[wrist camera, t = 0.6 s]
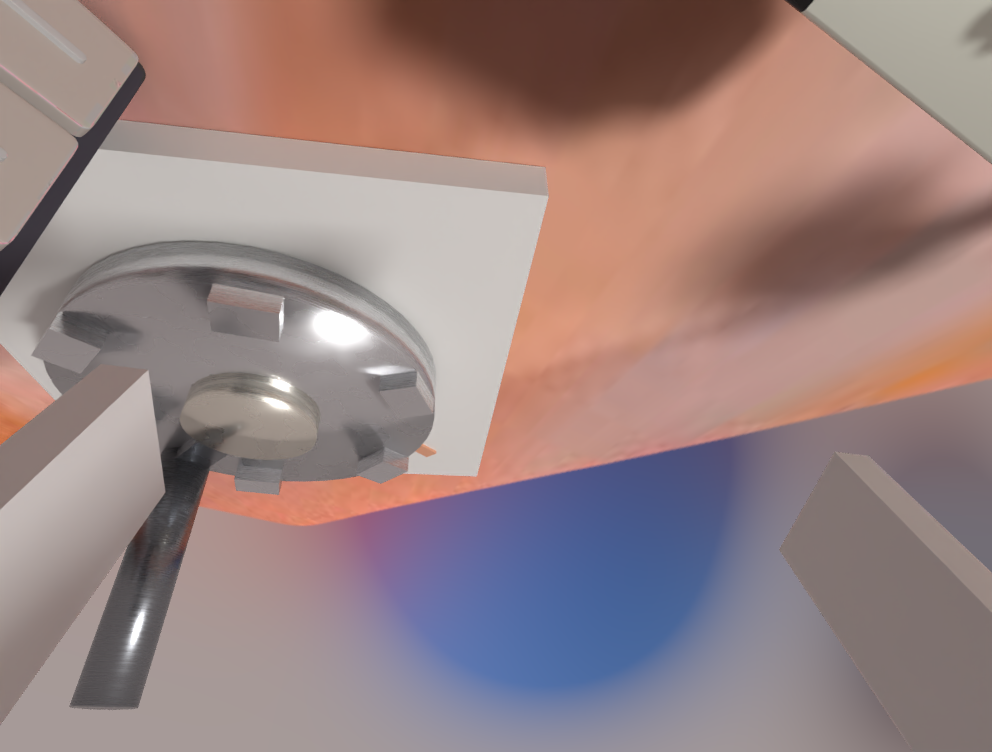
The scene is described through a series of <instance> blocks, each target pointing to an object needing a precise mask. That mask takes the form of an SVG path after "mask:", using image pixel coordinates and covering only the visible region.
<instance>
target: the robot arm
mask: <svg viewBox="0 0 992 752" xmlns="http://www.w3.org/2000/svg"><path fill="white" fill-rule="evenodd" d="M164 494H165V485H164V478H163V471H162V464H161V457H160V449H159V442H158V435H157V428H156V421H155V414H154V406H153V399H152V392H151V385H150V378H149V370H146V369H138V368H130V367H121V366H113V365H105V364H100V365H99V366H98V367H97V368H95V369H94V370H93V371H92V372H90V373H89V374H88V375H87V376H85V377H84V378H83V379H82V380H81V381H79V382H78V383H77V384H76V385H74V386H73V387H72V388H71V389H69V390H68V391H67V392H66V393H64V394H63V395H62V396H61V397H59V398H58V399H57V400H56V401H54V402H53V403H52V404H51V405H49V406H48V407H47V408H46V409H45V410H43V411H42V412H41V413H40V414H38V415H37V416H36V417H35V418H33V419H32V420H31V421H30V422H28V423H27V424H26V425H25V426H23V427H22V428H21V429H20V430H18V431H17V432H16V433H15V434H13V435H12V436H11V437H10V438H9V439H7V440H6V441H5V442H4V443H2V444H1V445H0V725H1V723H2V722H3V721H4V719H5V718H6V716H7V715H8V713H9V712H10V711H11V709H12V707H13V706H14V705H15V704H16V702H17V701H18V699H19V698H20V697H21V695H22V694H23V692H24V691H25V690H26V688H27V687H28V685H29V684H30V682H31V681H32V680H33V678H34V677H35V675H36V674H37V673H38V671H39V670H40V668H41V667H42V666H43V664H44V663H45V661H46V660H47V658H48V657H49V656H50V654H51V653H52V651H53V650H54V649H55V647H56V645H57V644H58V643H59V642H60V640H61V639H62V637H63V636H64V634H65V633H66V632H67V630H68V629H69V627H70V626H71V625H72V623H73V622H74V620H75V619H76V618H77V616H78V615H79V613H80V612H81V611H82V609H83V608H84V606H85V605H86V604H87V602H88V601H89V599H90V598H91V596H92V595H93V594H94V592H95V591H96V589H97V588H98V587H99V585H100V584H101V582H102V581H103V579H104V578H105V577H106V575H107V574H108V573H109V571H110V570H111V568H112V567H113V565H114V564H115V563H116V561H117V560H118V558H119V557H120V556H121V554H122V553H123V551H124V550H125V548H126V547H127V546H128V544H129V543H130V541H131V540H132V539H133V537H134V536H135V534H136V533H137V532H138V530H139V529H140V527H141V526H142V525H143V523H144V522H145V520H146V519H147V518H148V516H149V515H150V513H151V512H152V510H153V509H154V508H155V506H156V505H157V503H158V502H159V501H160V499H161V498H162V496H163V495H164ZM780 552H781V553H782V555H783V556H784V558H785V559H786V561H787V562H788V564H789V565H790V567H791V568H792V570H793V571H794V573H795V574H796V576H797V577H798V579H799V580H800V582H801V584H802V585H803V587H804V588H805V590H806V591H807V593H808V594H809V596H810V597H811V599H812V600H813V602H814V603H815V605H816V606H817V608H818V609H819V610H820V612H821V614H822V615H823V617H824V618H825V620H826V621H827V623H828V624H829V626H830V627H831V629H832V630H833V632H834V633H835V635H836V636H837V638H838V639H839V641H840V642H841V644H842V646H843V647H844V649H845V650H846V652H847V653H848V655H849V656H850V658H851V659H852V661H853V662H854V664H855V665H856V667H857V668H858V670H859V671H860V673H861V674H862V676H863V677H864V679H865V680H866V682H867V683H868V685H869V686H870V688H871V689H872V691H873V692H874V694H875V695H876V697H877V698H878V700H879V701H880V703H881V705H882V706H883V708H884V709H885V710H886V712H887V714H888V715H889V717H890V718H891V720H892V721H893V723H894V724H895V726H896V727H897V729H898V730H899V732H900V733H901V735H902V736H903V738H904V739H905V741H906V742H907V744H908V745H909V747H910V748H911V750H912V751H913V752H992V572H990V571H989V570H988V569H987V568H986V567H985V566H984V565H983V564H982V563H981V562H980V561H979V560H978V559H977V558H976V557H975V556H974V555H972V554H971V553H970V552H969V551H968V550H967V549H966V548H965V547H964V546H963V545H962V544H961V543H960V542H959V541H958V540H957V539H956V538H955V537H954V536H952V535H951V534H950V533H949V532H948V531H947V530H946V529H945V528H944V527H943V526H942V525H941V524H940V523H939V522H938V521H937V520H936V519H935V518H933V517H932V516H931V515H930V514H929V513H928V512H927V511H926V510H925V509H924V508H923V507H922V506H921V505H920V504H919V503H918V502H917V501H916V500H914V499H913V498H912V497H911V496H910V495H909V494H908V493H907V492H906V491H905V490H904V489H903V488H902V487H901V486H900V485H899V484H897V482H895V481H894V480H893V479H892V478H891V477H890V476H889V475H888V474H887V473H886V472H885V471H884V470H883V469H882V468H880V466H879V465H878V464H876V463H875V462H874V461H873V460H872V459H871V458H870V457H869V456H865V455H856V454H849V453H840V452H834V454H833V456H832V457H831V459H830V461H829V463H828V464H827V466H826V468H825V470H824V472H823V473H822V475H821V477H820V479H819V480H818V482H817V484H816V485H815V487H814V489H813V491H812V493H811V494H810V496H809V498H808V500H807V501H806V503H805V505H804V507H803V508H802V510H801V512H800V514H799V516H798V517H797V519H796V521H795V523H794V525H793V526H792V528H791V530H790V531H789V533H788V535H787V537H786V538H785V540H784V542H783V544H782V545H781V547H780Z"/></svg>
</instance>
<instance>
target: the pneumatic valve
mask: <svg viewBox="0 0 992 752" xmlns="http://www.w3.org/2000/svg"><path fill="white" fill-rule="evenodd" d="M785 1H786V2H787V3H789V4H790V5H791V6H792V7H794V8H795V9H796V10H797V11H799V12H800V13H801V14H802V15H804V16H805V17H806V18H807V19H809V20H810V21H811V22H813V23H814V24H815V25H816V26H818V27H819V28H820V29H821V30H823V31H824V32H825V33H826V34H828V35H829V36H830V37H831V38H833V39H834V40H835V41H837V42H838V43H839V44H840V45H842V46H843V47H844V48H845V49H847V50H848V51H849V52H850V53H852V54H853V55H854V56H855V57H857V58H858V59H859V60H861V61H862V62H863V63H864V64H866V65H867V66H868V67H869V68H871V69H872V70H873V71H874V72H876V73H877V74H878V75H880V76H881V77H882V78H883V79H885V80H886V81H887V82H888V83H890V84H891V85H892V86H893V87H895V88H896V89H897V90H898V91H900V92H901V93H902V94H904V95H905V96H906V97H907V98H909V99H910V100H911V101H912V102H914V103H915V104H916V105H917V106H919V107H920V108H921V109H922V110H924V111H925V112H926V113H928V114H929V115H930V116H931V117H933V118H934V119H935V120H936V121H938V122H939V123H940V124H941V125H943V126H944V127H945V128H946V129H948V130H949V131H950V132H952V133H953V134H954V135H955V136H957V137H958V138H959V139H960V140H962V141H963V142H964V143H965V144H967V145H968V146H969V147H971V148H972V149H973V150H974V151H976V152H977V153H978V154H979V155H981V156H982V157H983V158H984V159H986V160H987V161H988V162H989V163H991V164H992V0H785Z"/></svg>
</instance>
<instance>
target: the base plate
mask: <svg viewBox="0 0 992 752" xmlns="http://www.w3.org/2000/svg"><path fill="white" fill-rule="evenodd" d="M548 197H549V195H548V186H547V177H546V168H545V167H539V166H530V165H521V164H512V163H503V162H494V161H485V160H476V159H467V158H458V157H449V156H440V155H431V154H422V153H413V152H404V151H395V150H386V149H377V148H368V147H359V146H350V145H341V144H332V143H323V142H314V141H305V140H296V139H287V138H278V137H269V136H260V135H251V134H242V133H233V132H224V131H215V130H206V129H197V128H188V127H179V126H170V125H161V124H152V123H143V122H134V121H125V120H117V122H116V123H115V125H114V126H113V128H112V129H111V131H110V132H109V134H108V135H107V137H106V138H105V140H104V141H103V143H102V144H101V146H100V147H99V149H98V150H97V152H96V153H95V155H94V156H93V158H92V159H91V161H90V162H89V164H88V165H87V167H86V168H85V170H84V171H83V173H82V174H81V176H80V177H79V179H78V180H77V182H76V183H75V185H74V186H73V188H72V189H71V191H70V192H69V194H68V195H67V197H66V198H65V200H64V201H63V203H62V204H61V206H60V207H59V209H58V210H57V212H56V213H55V215H54V216H53V218H52V219H51V221H50V222H49V224H48V225H47V227H46V228H45V230H44V232H43V233H42V235H41V236H40V238H39V239H38V241H37V242H36V244H35V245H34V247H33V248H32V250H31V251H30V253H29V254H28V256H27V257H26V259H25V260H24V262H23V263H22V265H21V266H20V268H19V269H18V271H17V272H16V274H15V275H14V277H13V278H12V280H11V281H10V283H9V284H8V286H7V287H6V289H5V290H4V292H3V293H2V295H1V296H0V344H1V345H2V346H3V347H4V348H5V349H6V350H7V351H8V352H9V353H10V354H11V355H12V356H13V357H14V358H15V359H16V360H17V361H18V362H19V363H20V364H21V365H22V366H23V367H24V368H25V369H26V370H27V372H28V373H29V374H30V375H31V376H32V377H33V378H34V379H35V380H36V381H37V382H38V383H39V384H40V385H41V386H42V387H43V388H44V389H45V390H46V391H47V392H48V393H49V394H50V395H51V396H52V397H53V398H54V400H55V401H56V400H57V399H58V398H59V397H61V396H62V394H61V393H60V392H59V391H58V389H57V388H56V387H55V386H54V384H53V382H52V381H51V379H50V377H49V375H48V373H47V372H46V369H45V365H44V361H43V360H41V359H39V358H36V357H33V356H31V355H32V353H33V351H34V349H35V348H36V346H37V344H38V342H39V341H40V339H41V337H42V336H43V334H44V333H45V332H46V330H47V329H48V327H49V325H50V324H51V322H52V320H53V318H54V317H55V315H56V313H57V311H58V310H59V308H60V306H61V305H62V303H63V301H64V299H65V298H66V296H67V294H68V292H69V291H70V289H71V288H72V286H73V285H74V284H75V282H76V281H77V280H78V278H79V277H80V276H81V275H82V274H83V273H85V272H86V271H87V270H88V269H90V268H91V267H92V266H93V265H95V264H97V263H99V262H101V261H103V260H105V259H107V258H108V257H110V256H112V255H115V254H118V253H122V252H125V251H128V250H131V249H134V248H139V247H144V246H150V245H156V244H162V243H178V242H208V243H224V244H232V245H239V246H247V247H253V248H258V249H262V250H267V251H271V252H276V253H280V254H284V255H288V256H291V257H294V258H297V259H300V260H304V261H307V262H310V263H313V264H315V265H318V266H320V267H323V268H325V269H328V270H330V271H332V272H335V273H337V274H340V275H342V276H344V277H345V278H347V279H349V280H351V281H353V282H355V283H357V284H359V285H361V286H363V287H365V288H366V289H368V290H369V291H371V292H372V293H374V294H375V295H377V296H378V297H380V298H382V299H383V300H385V301H386V302H387V303H388V304H390V305H391V306H392V307H393V308H394V309H396V310H397V311H398V312H399V313H401V314H402V315H403V316H404V317H405V318H406V319H407V320H408V321H409V323H410V324H411V325H412V326H413V327H414V328H415V329H416V330H417V331H418V333H419V334H420V336H421V337H422V338H423V340H424V341H425V343H426V345H427V347H428V349H429V351H430V353H431V355H432V357H433V361H434V365H435V368H436V398H435V417H434V422H433V427H432V430H431V432H430V434H429V436H428V438H427V439H426V440H425V442H424V443H423V444H422V445H421V446H420V448H418V449H417V450H416V451H415V452H414V453H412V454H411V455H410V456H408V457H409V463H408V472H405V473H407V474H431V475H455V476H477V474H478V470H479V466H480V462H481V458H482V454H483V450H484V446H485V442H486V438H487V435H488V431H489V427H490V423H491V419H492V415H493V411H494V407H495V403H496V399H497V396H498V392H499V388H500V384H501V380H502V376H503V372H504V368H505V364H506V361H507V357H508V353H509V349H510V345H511V341H512V337H513V333H514V329H515V325H516V322H517V318H518V314H519V310H520V306H521V302H522V298H523V294H524V290H525V286H526V283H527V279H528V275H529V271H530V267H531V263H532V259H533V255H534V251H535V247H536V244H537V240H538V236H539V232H540V228H541V224H542V220H543V216H544V212H545V208H546V205H547V201H548Z"/></svg>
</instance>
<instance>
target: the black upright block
mask: <svg viewBox="0 0 992 752" xmlns="http://www.w3.org/2000/svg"><path fill="white" fill-rule="evenodd" d="M145 76H146V74H145V70H144V68H143V67H142V65H141V64H140V63H139V62H138V56H137V54H136V53H135V52H134V51H133V50H132V49H131V48H130V47H129V46H128V45H127V44H126V43H125V42H123V41H122V40H121V39H120V38H119V37H118V36H117V35H116V34H115V33H113V32H112V31H111V30H110V29H109V28H108V27H107V26H106V25H105V24H104V23H102V22H101V21H100V20H99V19H98V18H97V17H96V16H95V15H94V14H92V13H91V12H90V11H89V10H88V9H87V8H86V7H85V6H84V5H83V4H81V3H80V2H79V1H78V0H0V296H1V295H2V293H3V292H4V290H5V289H6V287H7V286H8V284H9V283H10V281H11V280H12V278H13V277H14V275H15V274H16V272H17V271H18V269H19V268H20V266H21V265H22V263H23V262H24V260H25V259H26V257H27V256H28V254H29V253H30V251H31V250H32V248H33V247H34V245H35V244H36V242H37V241H38V239H39V238H40V236H41V235H42V233H43V232H44V230H45V228H46V227H47V225H48V224H49V222H50V221H51V219H52V218H53V216H54V215H55V213H56V212H57V210H58V209H59V207H60V206H61V204H62V203H63V201H64V200H65V198H66V197H67V195H68V194H69V192H70V191H71V189H72V188H73V186H74V185H75V183H76V182H77V180H78V179H79V177H80V176H81V174H82V173H83V171H84V170H85V168H86V167H87V165H88V164H89V162H90V161H91V159H92V158H93V156H94V155H95V153H96V152H97V150H98V149H99V147H100V146H101V144H102V143H103V141H104V140H105V138H106V137H107V135H108V134H109V132H110V131H111V129H112V128H113V126H114V125H115V123H116V122H117V120H118V119H119V117H120V116H121V114H122V113H123V111H124V110H125V108H126V107H127V105H128V104H129V102H130V101H131V99H132V98H133V96H134V95H135V93H136V92H137V90H138V89H139V87H140V86H141V84H142V83H143V81H144V79H145Z"/></svg>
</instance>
